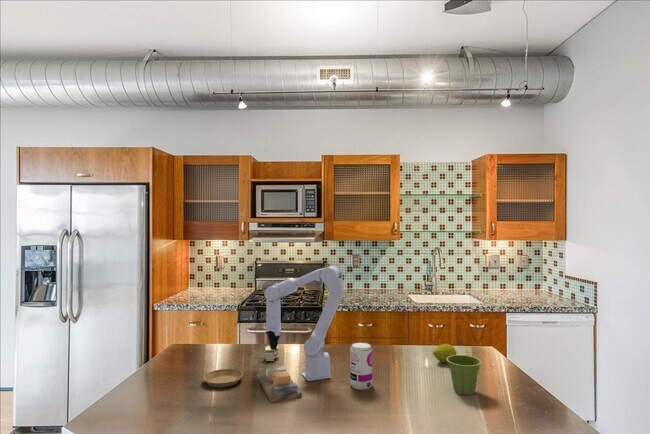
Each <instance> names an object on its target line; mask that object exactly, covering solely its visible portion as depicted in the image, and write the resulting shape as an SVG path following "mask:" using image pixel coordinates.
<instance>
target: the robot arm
mask: <svg viewBox="0 0 650 434" xmlns="http://www.w3.org/2000/svg"><path fill="white" fill-rule="evenodd" d="M343 275H344V274H343V273H342V271H341V269H340V268H339V267H338V266H336V265H330V266H328V267H322V268H319V269H316V270H313V271H310V272H308V273H306V274H304V275H302V276H300V277H297V278H296V279H295V278H293V277H286V278H284V280H282V281H281V282H274V285H271V286H268V287H267V288H266V289H265V290H264V292H263V293H264V298H265V299H266V307H265V309H266V314H265V315H266V317H265V318H266V321H265V323H266V325H265V326H263V330H265V333H266V336H267V339H268V343H269V346H270V349H271V350H276V349H278V348H277V346H278V344H279V340H280V337H281V336H282V332H281V330H282V324H281V323H282V322H281V321H282V319H281V318H282V316H281V313H282V311H281V309H282V307H281V303H282V302H281V298H283V297H286V296H288V295H291V294H292V293H295V292H297V291H298V288H299V287H301V286H303V285H306V284H308V283H311V282H314V281H317V282H322V283H323V284H324V285H325V286H326V287H327V289H328V292H329V296H328V298H327V300H326V302H325V305H324V307H323V310H322V312H321V314H320V316H319V319H318V321H317V323H316V325H315V327H314V330H313V331H312V333H311V334H310V337H309V338H308V339H307V340H306V341H305V342H304V344H303V351H304V353H305V354H304V355H305V356H304V357H305V359H304V360H305V361H304V363H305V368H304V369H305V371H304V372H301V374H302V376H303V377H304V378H305V379H306V380H307V381H308V382H310V381H319V380H325V379H331V378H332V376H331V358H330V355H329V353H328V352H326V351H325V352H324V350H323V347H324V346H325V345H326V344H325V343H326V342H325V340H326V336H327V332H328V330H329V328H330V325H331V323H332V320H333V318H334V316H335V314H336V312H337V310H338V307H339V305H340V303H341V300H342V298H343V297H344V293H345V287H344V280H343V279H344V278H343V277H344V276H343Z"/></svg>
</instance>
